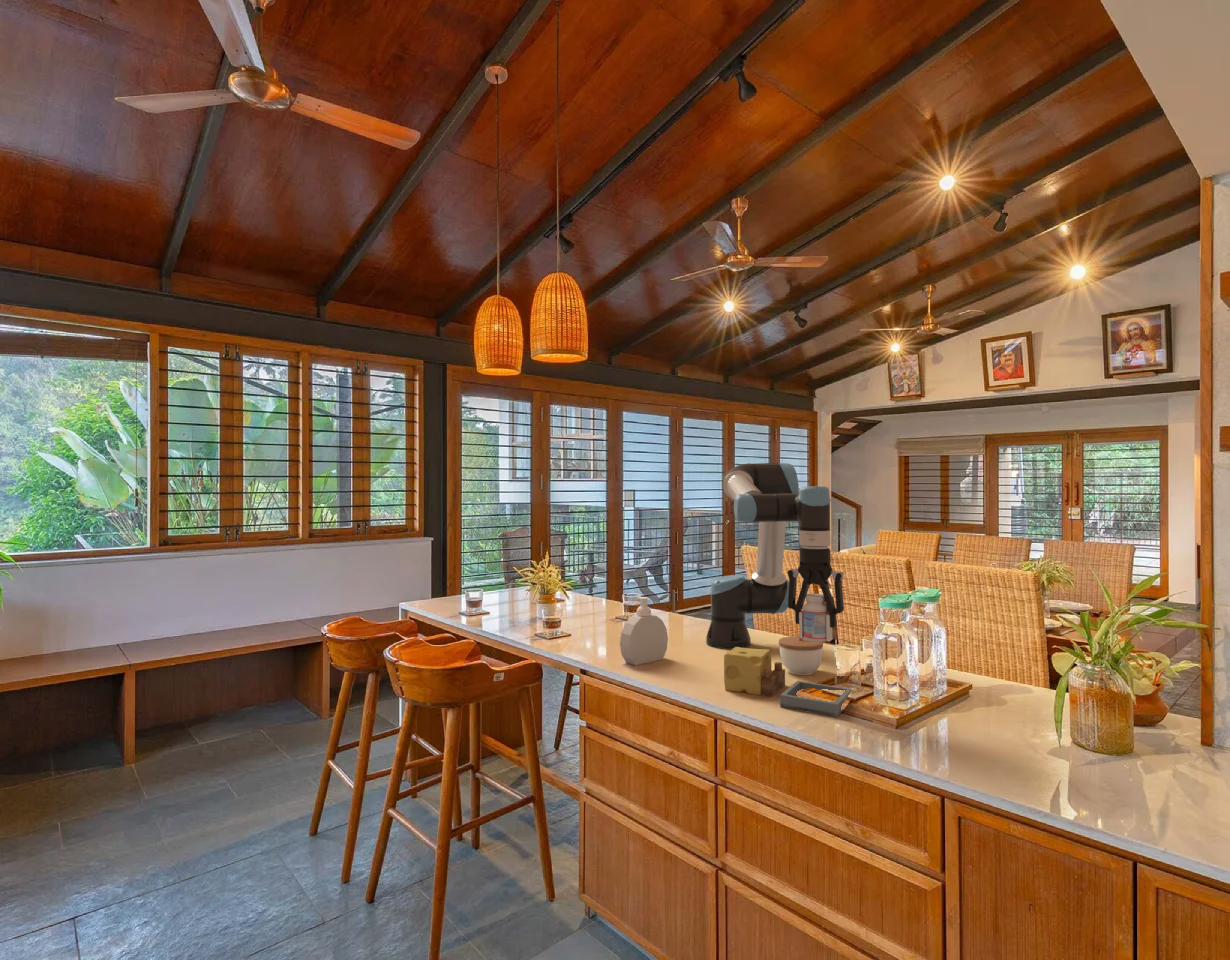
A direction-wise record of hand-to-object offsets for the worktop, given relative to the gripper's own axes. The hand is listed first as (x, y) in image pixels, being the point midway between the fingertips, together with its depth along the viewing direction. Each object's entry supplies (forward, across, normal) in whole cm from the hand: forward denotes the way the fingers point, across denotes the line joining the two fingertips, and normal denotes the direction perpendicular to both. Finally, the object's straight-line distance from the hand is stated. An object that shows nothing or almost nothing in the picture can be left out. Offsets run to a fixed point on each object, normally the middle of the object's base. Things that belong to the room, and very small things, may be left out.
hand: (815, 638), depth 169 cm
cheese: (+17, -20, +4) cm, 26 cm away
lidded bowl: (+17, -12, +26) cm, 33 cm away
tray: (+16, 0, 0) cm, 16 cm away
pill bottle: (+1, 0, 0) cm, 1 cm away
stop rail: (+17, -13, +5) cm, 22 cm away
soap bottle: (+17, -58, +13) cm, 62 cm away
